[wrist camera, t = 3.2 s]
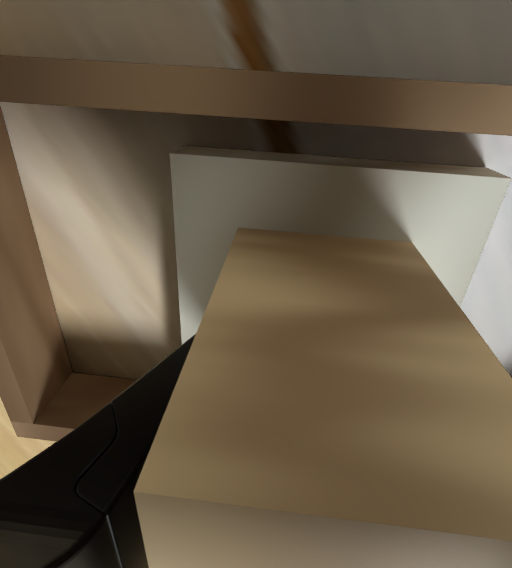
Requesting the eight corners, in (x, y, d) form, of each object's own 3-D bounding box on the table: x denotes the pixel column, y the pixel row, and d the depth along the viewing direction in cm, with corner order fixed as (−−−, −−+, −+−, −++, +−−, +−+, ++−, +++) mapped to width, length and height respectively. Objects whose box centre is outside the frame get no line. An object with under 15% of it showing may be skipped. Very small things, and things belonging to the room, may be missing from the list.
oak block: (412, 242, 9) (642, 557, 3) (374, 373, 11) (464, 705, 5) (238, 227, 9) (133, 492, 3) (234, 358, 12) (167, 658, 6)
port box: (784, 103, 8) (967, 112, 6) (547, 440, 14) (594, 508, 12) (-43, 55, 9) (-148, 46, 7) (57, 384, 15) (17, 436, 13)
